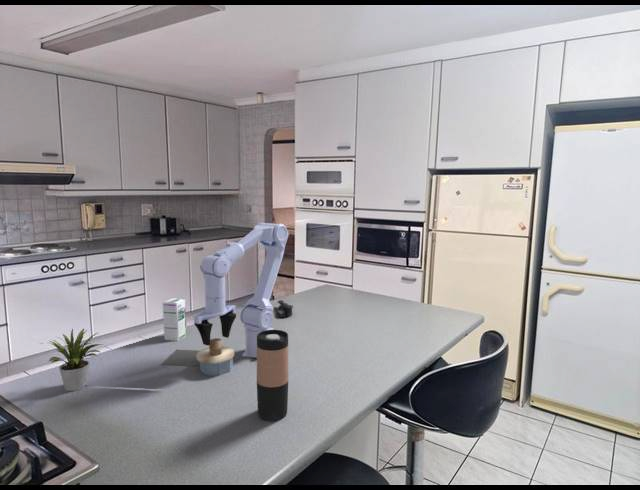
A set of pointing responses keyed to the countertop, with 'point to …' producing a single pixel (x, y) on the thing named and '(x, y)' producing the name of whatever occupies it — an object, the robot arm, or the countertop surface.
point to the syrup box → (174, 319)
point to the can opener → (284, 309)
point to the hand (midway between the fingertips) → (216, 340)
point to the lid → (215, 353)
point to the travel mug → (272, 374)
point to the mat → (182, 358)
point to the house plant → (74, 361)
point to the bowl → (216, 368)
